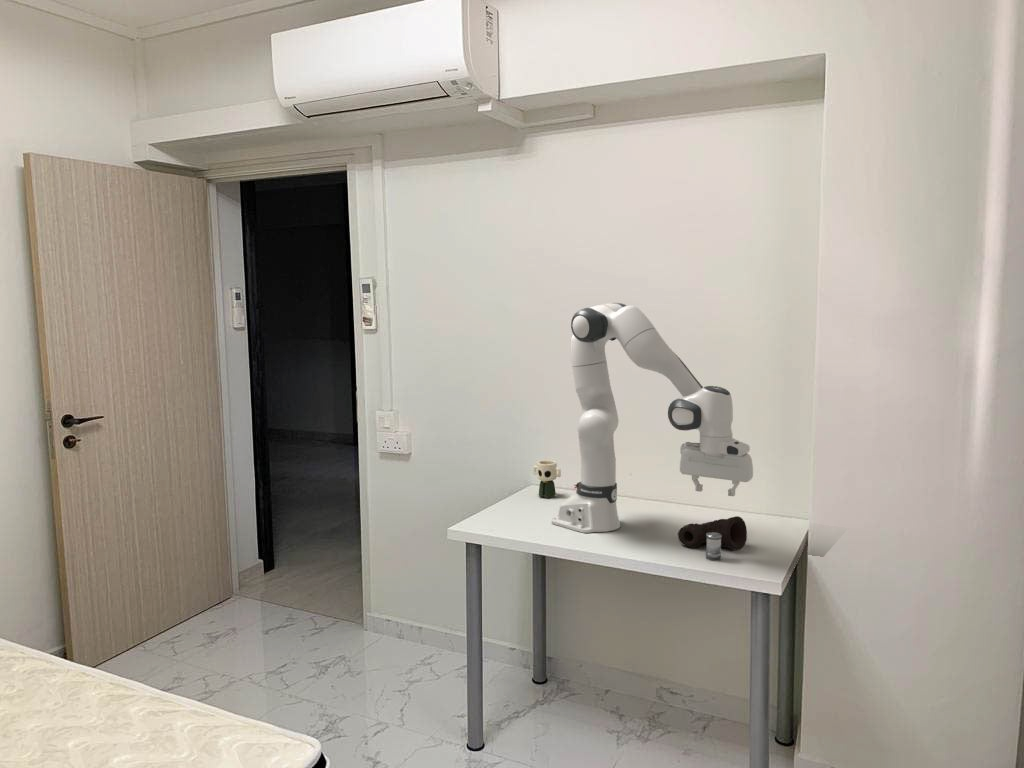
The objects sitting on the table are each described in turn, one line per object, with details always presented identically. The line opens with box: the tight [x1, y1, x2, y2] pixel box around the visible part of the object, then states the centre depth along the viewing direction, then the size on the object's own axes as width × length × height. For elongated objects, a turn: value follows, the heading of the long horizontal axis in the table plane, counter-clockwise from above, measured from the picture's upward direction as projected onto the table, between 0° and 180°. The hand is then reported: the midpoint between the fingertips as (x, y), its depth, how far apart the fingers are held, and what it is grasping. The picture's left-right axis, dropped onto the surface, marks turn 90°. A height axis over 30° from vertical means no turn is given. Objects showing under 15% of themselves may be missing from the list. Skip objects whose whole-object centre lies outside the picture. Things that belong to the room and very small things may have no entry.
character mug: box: [533, 459, 562, 498], centre depth 286 cm, size 11×7×13 cm, turn 63°
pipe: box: [677, 515, 748, 551], centre depth 230 cm, size 10×15×15 cm
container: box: [705, 532, 722, 562], centre depth 219 cm, size 4×4×7 cm
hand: (715, 493), depth 217 cm, fingers open, 8 cm apart
